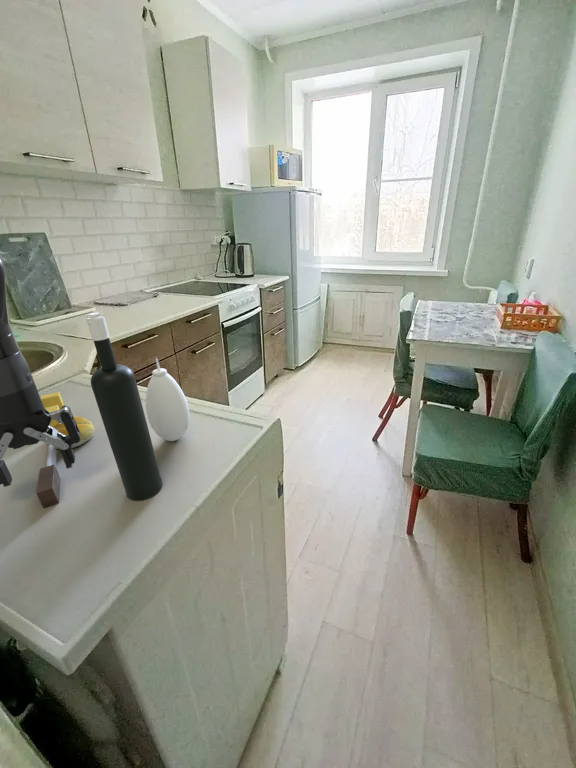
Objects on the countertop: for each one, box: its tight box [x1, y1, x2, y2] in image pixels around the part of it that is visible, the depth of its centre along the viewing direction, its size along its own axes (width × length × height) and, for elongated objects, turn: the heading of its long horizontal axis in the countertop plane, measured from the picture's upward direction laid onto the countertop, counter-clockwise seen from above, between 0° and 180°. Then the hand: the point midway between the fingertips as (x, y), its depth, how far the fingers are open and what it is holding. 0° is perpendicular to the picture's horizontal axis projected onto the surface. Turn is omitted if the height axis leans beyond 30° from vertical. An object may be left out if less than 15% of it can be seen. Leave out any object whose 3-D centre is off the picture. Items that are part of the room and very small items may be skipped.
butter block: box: [45, 405, 61, 427], centre depth 79 cm, size 5×4×4 cm
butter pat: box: [40, 391, 65, 409], centre depth 87 cm, size 2×4×4 cm, turn 119°
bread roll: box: [53, 416, 96, 450], centre depth 74 cm, size 8×9×4 cm
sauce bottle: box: [145, 357, 191, 442], centre depth 69 cm, size 8×8×18 cm
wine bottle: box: [84, 311, 163, 502], centre depth 53 cm, size 6×6×30 cm
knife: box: [35, 445, 61, 509], centre depth 63 cm, size 16×2×3 cm, turn 29°
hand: (40, 474), depth 58 cm, fingers open, 8 cm apart
